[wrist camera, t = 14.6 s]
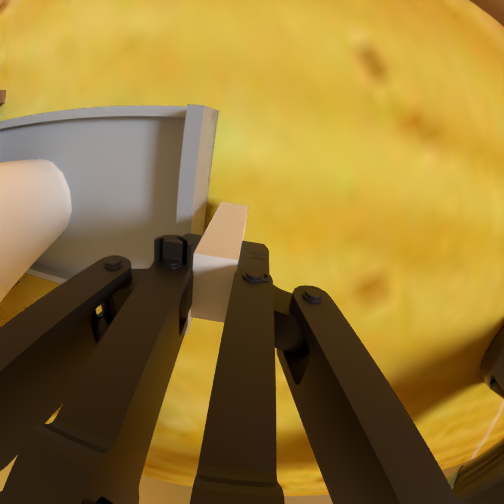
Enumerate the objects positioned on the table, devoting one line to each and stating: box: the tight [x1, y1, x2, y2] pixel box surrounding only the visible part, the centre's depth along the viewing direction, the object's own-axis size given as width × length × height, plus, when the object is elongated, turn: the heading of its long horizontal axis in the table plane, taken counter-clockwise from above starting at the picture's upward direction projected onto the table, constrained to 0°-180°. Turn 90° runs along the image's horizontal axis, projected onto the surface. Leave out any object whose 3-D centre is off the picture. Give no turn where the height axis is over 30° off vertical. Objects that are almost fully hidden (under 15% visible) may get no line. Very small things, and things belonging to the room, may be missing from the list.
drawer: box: [0, 105, 219, 334], centre depth 16 cm, size 20×13×4 cm, turn 82°
